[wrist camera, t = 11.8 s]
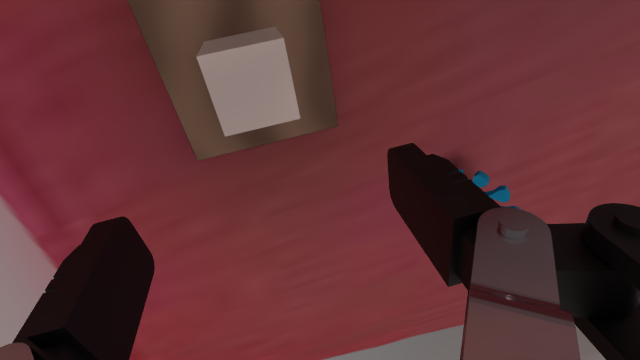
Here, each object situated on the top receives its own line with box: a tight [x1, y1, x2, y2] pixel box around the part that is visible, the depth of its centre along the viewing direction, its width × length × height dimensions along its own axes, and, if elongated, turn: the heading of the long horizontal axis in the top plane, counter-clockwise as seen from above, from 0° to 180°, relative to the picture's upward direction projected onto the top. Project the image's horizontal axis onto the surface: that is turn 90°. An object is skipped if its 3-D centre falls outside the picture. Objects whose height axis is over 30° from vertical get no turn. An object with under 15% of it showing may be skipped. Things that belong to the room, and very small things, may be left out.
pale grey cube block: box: [196, 27, 300, 137], centre depth 22 cm, size 5×5×5 cm
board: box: [128, 0, 338, 161], centre depth 23 cm, size 12×12×5 cm
